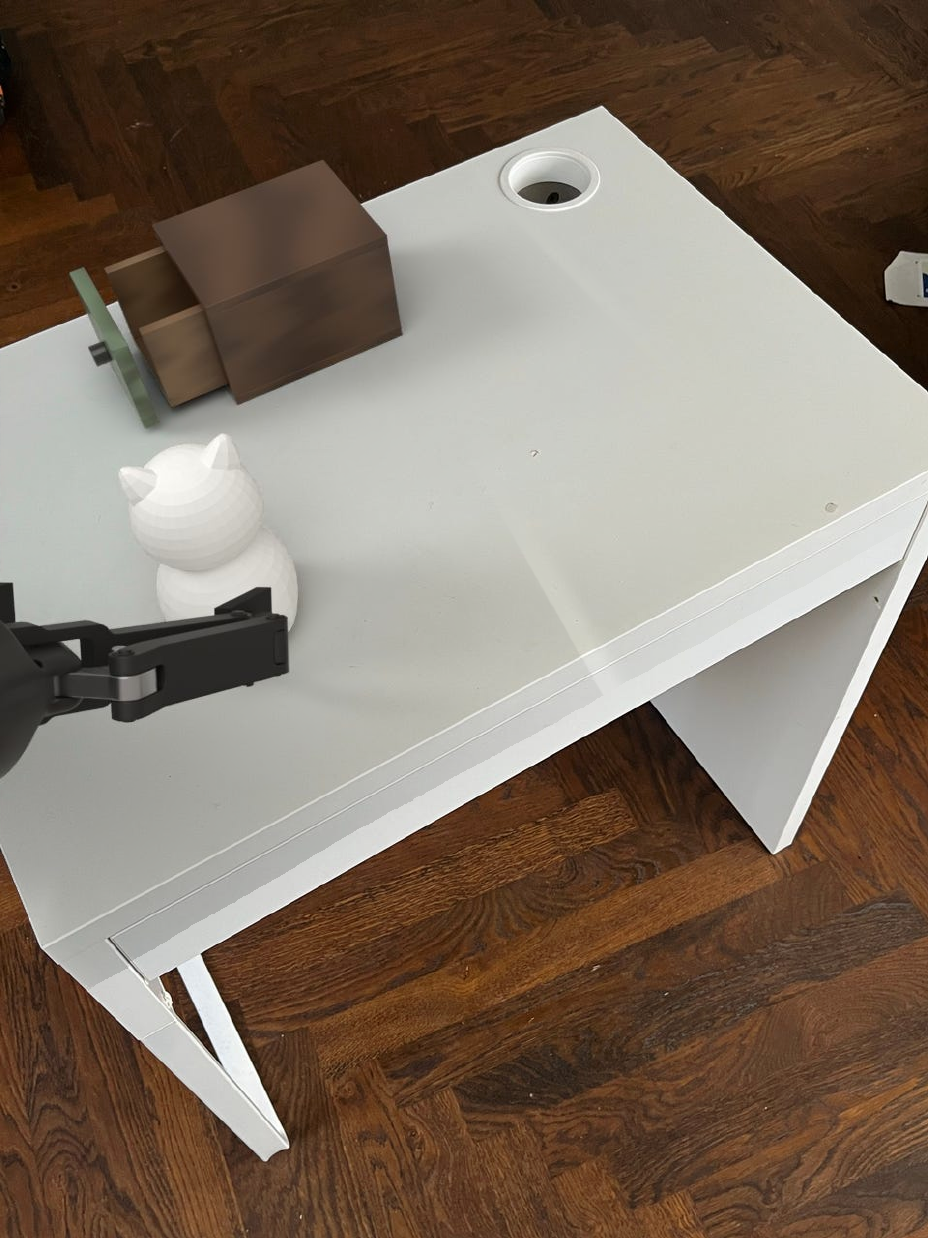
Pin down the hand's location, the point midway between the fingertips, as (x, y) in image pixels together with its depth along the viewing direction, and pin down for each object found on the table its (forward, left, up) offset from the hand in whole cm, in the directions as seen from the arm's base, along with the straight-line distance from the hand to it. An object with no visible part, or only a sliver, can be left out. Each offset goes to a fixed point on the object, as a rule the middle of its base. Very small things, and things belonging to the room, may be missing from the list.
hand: (135, 610), depth 59 cm
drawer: (-9, +35, -15) cm, 39 cm away
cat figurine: (0, +10, -16) cm, 19 cm away
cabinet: (-2, +40, -16) cm, 43 cm away
